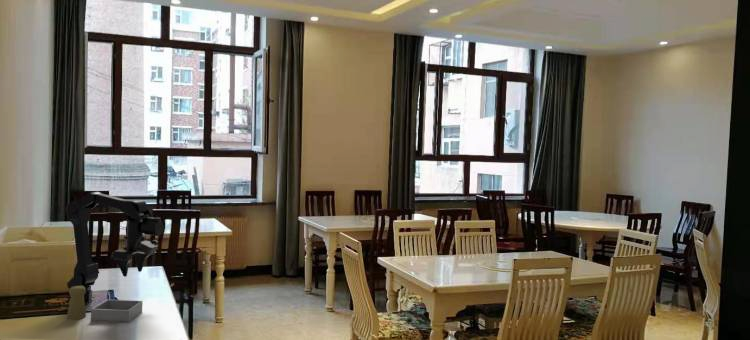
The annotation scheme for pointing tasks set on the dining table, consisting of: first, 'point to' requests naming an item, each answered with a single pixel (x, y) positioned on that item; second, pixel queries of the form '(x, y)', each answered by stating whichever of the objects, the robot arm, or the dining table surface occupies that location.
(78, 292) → the cork
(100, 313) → the bin
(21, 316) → the dining table surface
